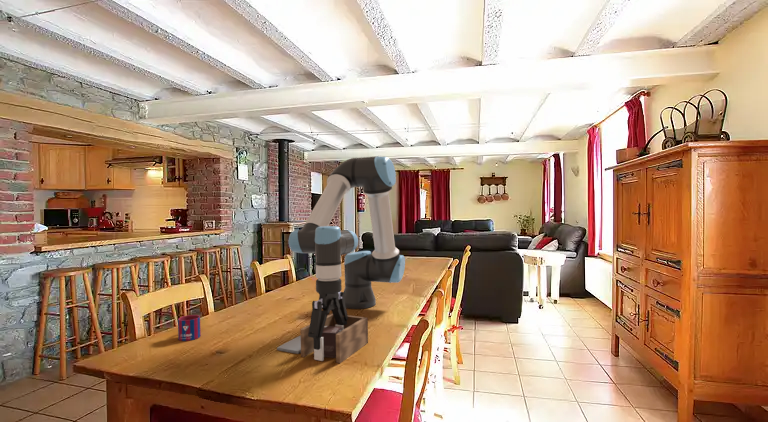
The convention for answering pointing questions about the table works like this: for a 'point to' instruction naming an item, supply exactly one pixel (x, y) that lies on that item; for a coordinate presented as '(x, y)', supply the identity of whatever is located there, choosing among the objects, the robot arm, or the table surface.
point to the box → (330, 340)
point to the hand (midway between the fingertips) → (329, 352)
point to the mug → (189, 327)
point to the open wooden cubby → (340, 337)
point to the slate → (292, 346)
